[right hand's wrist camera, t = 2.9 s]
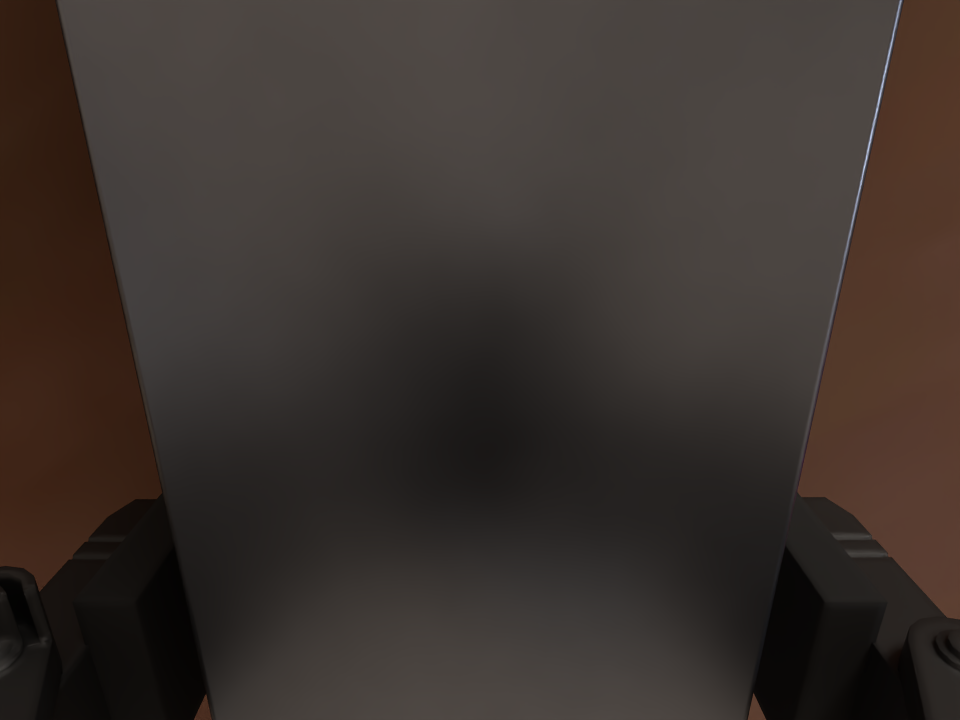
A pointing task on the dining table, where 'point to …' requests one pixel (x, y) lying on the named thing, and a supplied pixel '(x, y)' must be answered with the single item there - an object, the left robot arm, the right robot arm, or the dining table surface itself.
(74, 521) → the dining table surface
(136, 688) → the right robot arm
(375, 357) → the bar
